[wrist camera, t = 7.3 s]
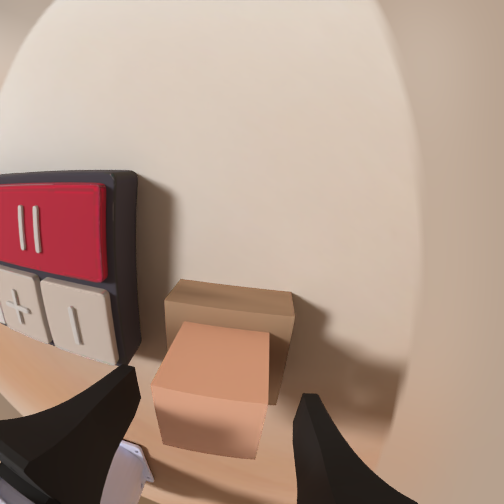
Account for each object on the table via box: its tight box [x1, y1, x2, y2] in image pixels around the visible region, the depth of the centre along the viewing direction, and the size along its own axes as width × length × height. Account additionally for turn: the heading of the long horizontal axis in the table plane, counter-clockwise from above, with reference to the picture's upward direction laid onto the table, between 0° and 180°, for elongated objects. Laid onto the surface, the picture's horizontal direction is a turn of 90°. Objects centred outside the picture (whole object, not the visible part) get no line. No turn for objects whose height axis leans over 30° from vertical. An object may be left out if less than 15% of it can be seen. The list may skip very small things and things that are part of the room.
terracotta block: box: [151, 321, 269, 460], centre depth 11 cm, size 4×4×4 cm
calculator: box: [0, 170, 141, 366], centre depth 13 cm, size 11×4×15 cm
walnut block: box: [164, 279, 295, 405], centre depth 14 cm, size 6×6×3 cm
